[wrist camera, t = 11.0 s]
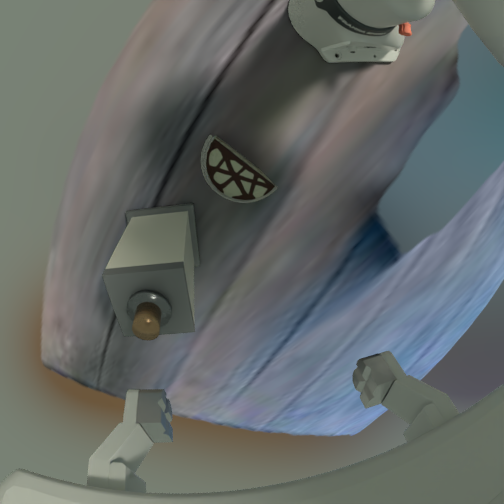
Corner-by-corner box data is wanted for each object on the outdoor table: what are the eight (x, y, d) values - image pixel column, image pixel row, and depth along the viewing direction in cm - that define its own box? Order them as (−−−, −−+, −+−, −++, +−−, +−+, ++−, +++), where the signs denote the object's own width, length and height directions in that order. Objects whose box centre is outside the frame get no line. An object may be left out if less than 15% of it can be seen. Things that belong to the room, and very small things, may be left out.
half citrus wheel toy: (185, 159, 45) (181, 172, 36) (208, 129, 43) (210, 135, 35) (243, 200, 50) (252, 222, 42) (265, 173, 48) (280, 190, 40)
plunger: (178, 229, 45) (169, 303, 29) (184, 267, 49) (181, 349, 32) (137, 234, 44) (108, 308, 28) (145, 270, 48) (126, 352, 31)
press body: (193, 203, 49) (190, 259, 32) (200, 263, 55) (203, 336, 38) (126, 210, 47) (92, 269, 30) (139, 269, 53) (119, 341, 36)
